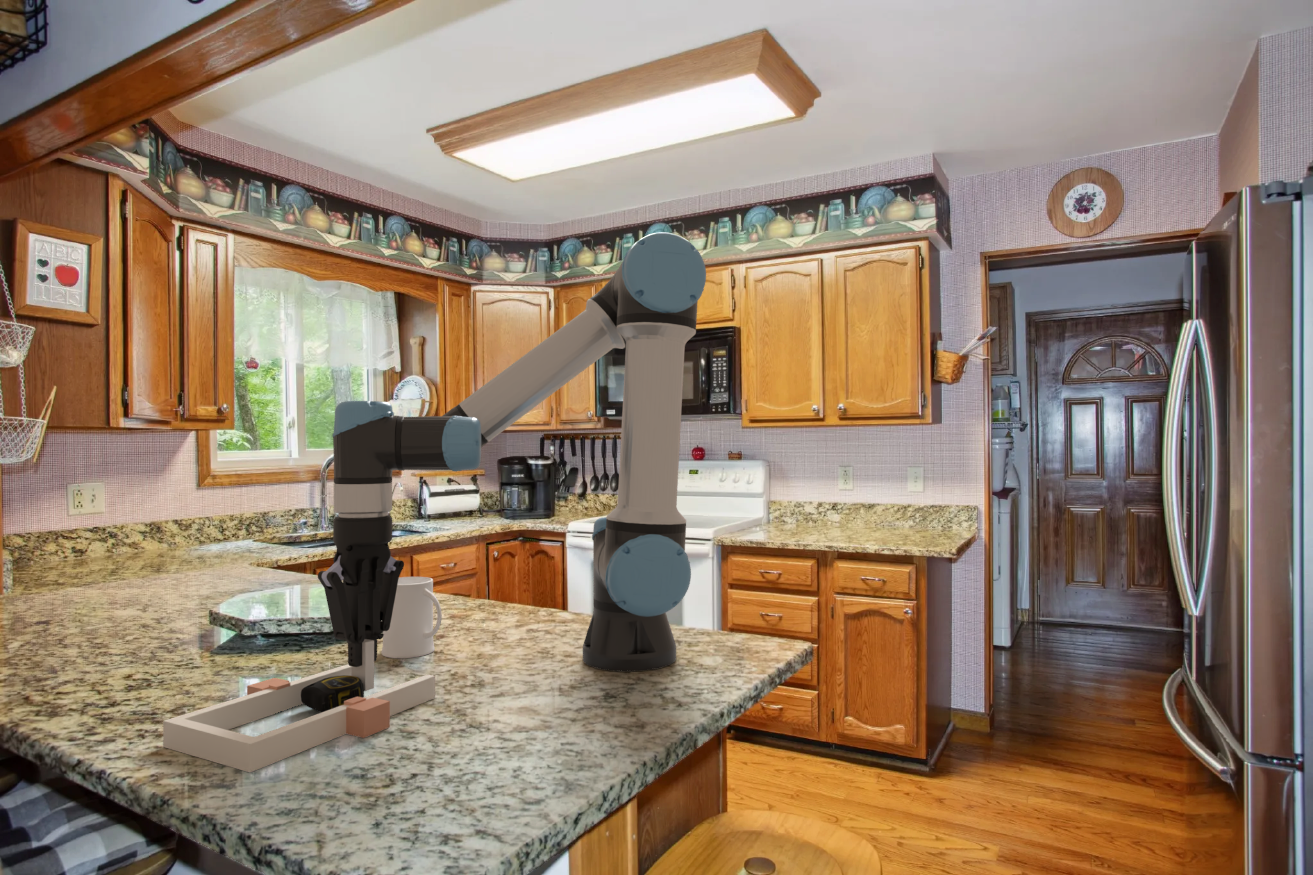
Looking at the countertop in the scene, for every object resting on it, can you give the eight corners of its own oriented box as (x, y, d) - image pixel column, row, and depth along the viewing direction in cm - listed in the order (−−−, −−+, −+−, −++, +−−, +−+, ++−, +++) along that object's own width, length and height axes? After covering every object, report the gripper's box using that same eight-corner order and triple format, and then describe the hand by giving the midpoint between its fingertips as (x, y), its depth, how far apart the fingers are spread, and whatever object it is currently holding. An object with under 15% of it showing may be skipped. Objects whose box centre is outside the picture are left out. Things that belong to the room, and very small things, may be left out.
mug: (457, 653, 130) (457, 581, 131) (414, 664, 124) (414, 588, 124) (413, 642, 137) (413, 574, 138) (370, 653, 130) (370, 581, 131)
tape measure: (298, 711, 102) (298, 682, 102) (348, 698, 107) (348, 670, 107) (322, 723, 98) (321, 693, 98) (373, 709, 103) (373, 680, 103)
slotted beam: (451, 701, 106) (451, 675, 106) (268, 777, 81) (268, 745, 81) (340, 679, 116) (341, 656, 116) (148, 742, 91) (148, 713, 91)
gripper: (380, 509, 114) (380, 672, 114) (303, 517, 102) (302, 697, 102) (418, 511, 110) (418, 679, 110) (342, 519, 99) (342, 706, 99)
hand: (362, 687), depth 106 cm, fingers closed
